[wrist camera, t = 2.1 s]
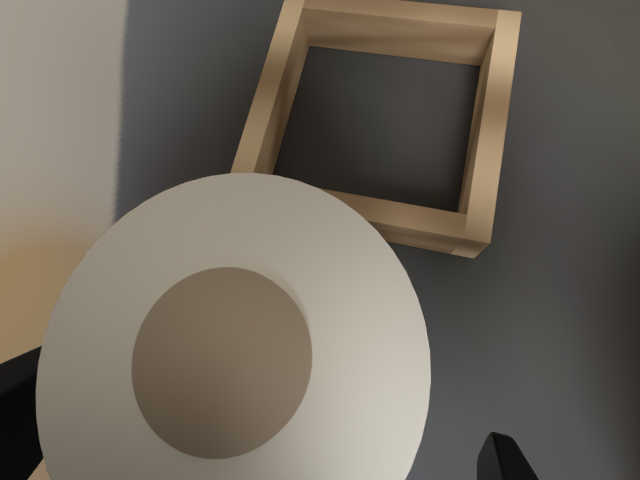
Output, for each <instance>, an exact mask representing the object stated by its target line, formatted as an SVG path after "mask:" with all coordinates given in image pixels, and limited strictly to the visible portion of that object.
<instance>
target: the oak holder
mask: <svg viewBox="0 0 640 480" xmlns="http://www.w3.org/2000/svg"><path fill="white" fill-rule="evenodd" d="M521 13H522V12H517V11H506V10H496V9H485V8H475V7H464V6H454V5H443V4H432V3H422V2H411V1H401V0H284V3H283V7H282V10H281V13H280V16H279V19H278V23H277V26H276V29H275V32H274V35H273V38H272V42H271V45H270V48H269V51H268V54H267V58H266V61H265V64H264V67H263V70H262V73H261V77H260V80H259V83H258V86H257V89H256V93H255V96H254V99H253V102H252V105H251V108H250V112H249V115H248V118H247V121H246V124H245V128H244V131H243V134H242V137H241V140H240V143H239V147H238V150H237V153H236V156H235V159H234V163H233V166H232V169H231V172H230V173H259V174H268V175H273V171H274V168H275V164H276V161H277V157H278V154H279V150H280V147H281V143H282V140H283V136H284V133H285V129H286V126H287V122H288V119H289V115H290V112H291V108H292V105H293V101H294V98H295V94H296V91H297V87H298V84H299V80H300V77H301V73H302V70H303V66H304V63H305V59H306V56H307V52H308V49H309V46H315V47H324V48H332V49H341V50H349V51H357V52H366V53H374V54H383V55H391V56H400V57H408V58H417V59H425V60H434V61H442V62H451V63H459V64H468V65H476V66H481V67H480V73H479V80H478V86H477V92H476V98H475V105H474V111H473V117H472V124H471V130H470V136H469V142H468V149H467V155H466V161H465V168H464V174H463V180H462V186H461V193H460V199H459V205H458V212H457V213H456V212H450V211H445V210H439V209H433V208H428V207H422V206H416V205H411V204H405V203H400V202H394V201H388V200H383V199H377V198H371V197H366V196H360V195H354V194H349V193H343V192H338V191H332V190H326V189H321V188H319V189H321V190H323V191H324V192H326V193H328V194H330V195H332V196H334V197H335V198H337V199H339V200H341V201H342V202H344V203H345V204H346V205H348V206H349V207H350V208H352V209H353V210H355V211H356V212H357V213H359V214H360V215H361V216H362V217H363V218H364V219H365V220H366V221H367V222H368V223H369V224H371V225H372V226H373V227H374V228H375V229H376V230H377V231H378V232H379V234H380V235H381V236H382V237H383V239H384V240H385V241H386V242H392V243H397V244H402V245H407V246H412V247H417V248H422V249H428V250H433V251H438V252H443V253H448V254H453V255H458V256H463V257H469V258H475V257H476V256H477V255H478V254H479V253H480V252H482V251H483V250H484V249H485V248H486V247H487V246H488V245H489V244H490V243H491V235H492V228H493V221H494V213H495V206H496V198H497V191H498V184H499V176H500V169H501V161H502V154H503V147H504V139H505V132H506V124H507V117H508V109H509V102H510V95H511V87H512V80H513V72H514V65H515V58H516V50H517V43H518V35H519V28H520V21H521Z"/></svg>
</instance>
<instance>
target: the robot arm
mask: <svg viewBox="0 0 640 480" xmlns="http://www.w3.org/2000/svg"><path fill="white" fill-rule="evenodd" d="M41 348H42V346H40V347H37V348H35V349H33V350H31V351H28V352H27V353H24V354H22V355H19V356H17V357H15V358H13V359H10V360H8V361H6V362H4V363H1V364H0V480H27V479H28V478H29V477H30V475H31V474H32V473H33V471H34V470H35V469H36V468H37V466H38V465H39V464H40V462H41V460H43V458H44V457H43V453H42V449H41V446H40V440H39V433H38V426H37V419H36V382H37V372H38V362H39V358H40V353H41ZM477 480H539V479H538V478H537V476H536V474H535V473H534V471H533V470H532V468H531V466H530V465H529V463H528V462H527V460H526V458H525V457H524V455H523V453H522V452H521V450H520V449H519V447H518V445H517V444H516V442H515V441H514V439H513V438H511V437H510V436H508V435H504V434H500V433H496V432H491V433H490V434H489V435H488V437H487V439H486V441H485V443H484V445H483V447H482V449H481V451H480V453H479V456H478V461H477Z"/></svg>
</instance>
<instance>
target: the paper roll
mask: <svg viewBox="0 0 640 480" xmlns="http://www.w3.org/2000/svg"><path fill="white" fill-rule="evenodd" d="M430 384H431V371H430V349H429V343H428V337H427V331H426V325H425V321H424V317H423V314H422V311H421V307H420V304H419V301H418V297H417V295H416V293H415V290H414V288H413V286H412V284H411V281H410V279H409V277H408V275H407V272H406V271H405V269H404V268H403V266H402V264H401V263H400V261H399V259H398V258H397V256H396V254H395V253H394V251H393V250H392V249H391V247H390V246H389V245H388V244H387V242H386V241H385V240H384V239H383V237H382V236H381V235H380V234H379V232H378V231H377V230H376V229H375V228H374V227H373V226H372V225H371V224H369V223H368V222H367V221H366V220H365V219H364V218H363V217H362V216H361V215H360V214H359V213H357V212H356V211H355V210H353V209H352V208H350V207H349V206H348V205H346V204H345V203H344V202H342V201H341V200H339V199H337V198H335V197H334V196H332V195H330V194H328V193H326V192H324V191H323V190H321V189H319V188H316V187H313V186H311V185H308V184H306V183H303V182H300V181H297V180H293V179H289V178H285V177H281V176H277V175H268V174H259V173H229V174H222V175H214V176H208V177H204V178H200V179H196V180H193V181H189V182H186V183H183V184H180V185H178V186H175V187H173V188H170V189H168V190H165V191H163V192H161V193H159V194H158V195H156V196H154V197H152V198H150V199H148V200H146V201H144V202H143V203H142V204H140V205H139V206H137V207H136V208H134V209H133V210H131V211H130V212H128V213H127V214H125V215H124V216H123V217H122V218H121V219H120V220H118V221H117V222H116V223H115V224H114V225H113V226H111V227H110V228H109V229H108V230H107V231H106V232H105V233H104V234H103V235H102V236H101V237H100V238H99V239H98V240H97V242H96V243H95V244H94V245H93V246H92V247H91V248H90V249H89V251H88V252H87V253H86V255H85V256H84V257H83V259H82V260H81V261H80V263H79V264H78V265H77V267H76V268H75V270H74V272H73V273H72V275H71V277H70V278H69V280H68V281H67V283H66V285H65V286H64V288H63V290H62V292H61V295H60V296H59V299H58V301H57V303H56V305H55V307H54V309H53V312H52V315H51V317H50V320H49V323H48V326H47V329H46V333H45V335H44V339H43V344H42V348H41V353H40V358H39V362H38V372H37V382H36V419H37V426H38V433H39V440H40V446H41V449H42V453H43V457H44V460H45V464H46V468H47V471H48V474H49V476H50V478H51V480H405V479H406V477H407V475H408V473H409V471H410V469H411V467H412V464H413V461H414V458H415V456H416V453H417V450H418V447H419V445H420V442H421V439H422V435H423V430H424V426H425V421H426V417H427V412H428V405H429V394H430Z"/></svg>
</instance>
